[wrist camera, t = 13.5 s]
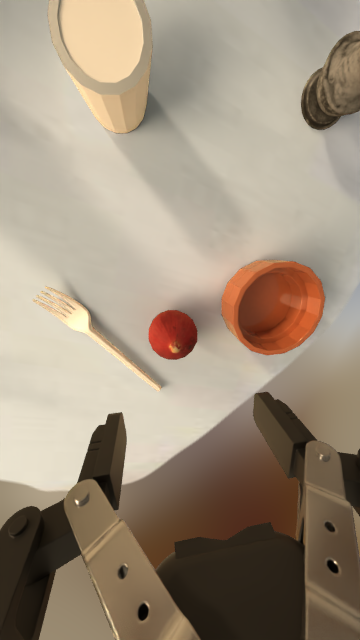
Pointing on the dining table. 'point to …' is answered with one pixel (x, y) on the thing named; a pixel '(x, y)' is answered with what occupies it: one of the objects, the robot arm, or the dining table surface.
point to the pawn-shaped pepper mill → (334, 85)
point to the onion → (172, 334)
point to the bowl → (273, 305)
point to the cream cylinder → (106, 56)
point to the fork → (88, 328)
